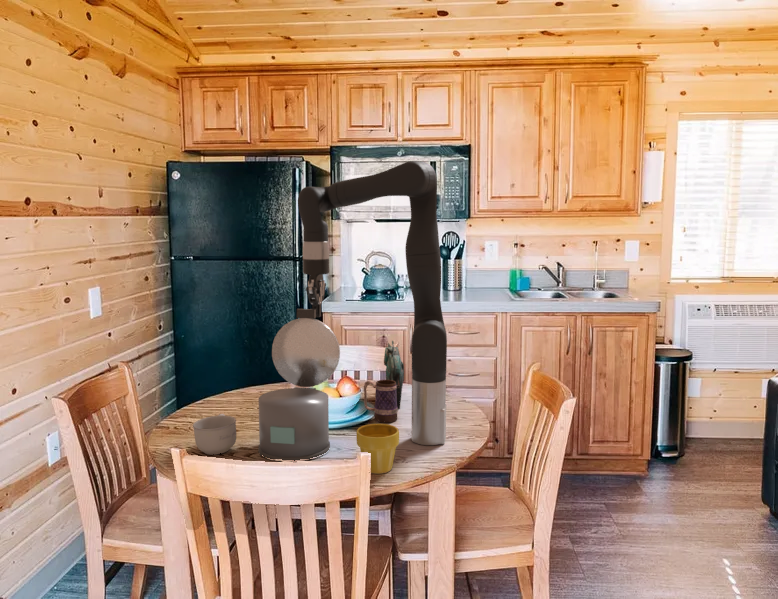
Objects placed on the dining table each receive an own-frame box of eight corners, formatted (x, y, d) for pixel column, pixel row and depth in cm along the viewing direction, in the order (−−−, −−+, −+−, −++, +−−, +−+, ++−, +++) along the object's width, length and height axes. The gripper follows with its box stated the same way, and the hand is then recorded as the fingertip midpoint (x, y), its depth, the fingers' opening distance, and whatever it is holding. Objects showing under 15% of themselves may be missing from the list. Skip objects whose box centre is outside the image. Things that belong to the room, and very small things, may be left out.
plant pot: (347, 470, 153) (347, 431, 152) (372, 457, 162) (372, 420, 160) (383, 481, 147) (383, 440, 146) (407, 466, 156) (407, 428, 155)
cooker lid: (338, 388, 173) (340, 386, 176) (339, 310, 172) (341, 309, 175) (271, 385, 176) (275, 383, 179) (272, 308, 175) (276, 307, 178)
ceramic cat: (383, 392, 221) (383, 336, 218) (401, 392, 221) (402, 336, 218) (386, 410, 201) (386, 348, 198) (406, 409, 201) (407, 348, 199)
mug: (397, 416, 195) (398, 378, 194) (397, 423, 188) (397, 384, 186) (364, 415, 195) (364, 377, 194) (362, 423, 188) (362, 383, 187)
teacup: (226, 459, 160) (225, 429, 159) (186, 456, 162) (185, 426, 161) (247, 440, 174) (247, 412, 172) (210, 437, 175) (209, 409, 174)
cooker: (338, 437, 176) (337, 388, 174) (318, 465, 156) (318, 410, 155) (274, 433, 179) (273, 385, 177) (247, 460, 160) (245, 406, 158)
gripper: (322, 259, 175) (323, 321, 177) (334, 256, 188) (334, 313, 190) (296, 258, 176) (297, 320, 179) (310, 255, 189) (310, 313, 192)
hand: (316, 316), depth 185 cm, fingers closed
